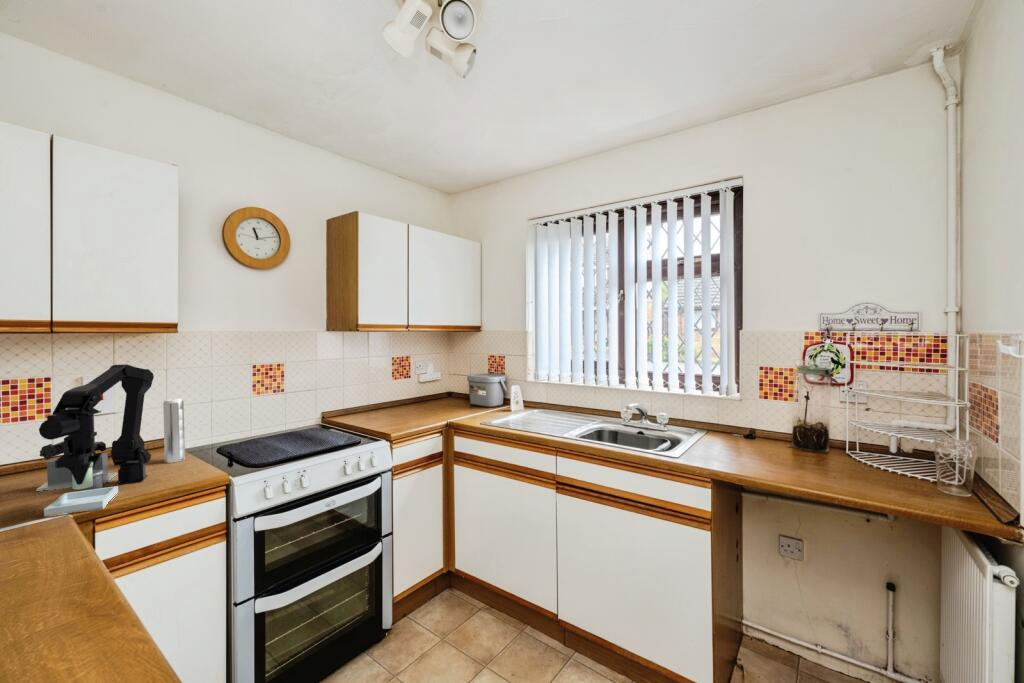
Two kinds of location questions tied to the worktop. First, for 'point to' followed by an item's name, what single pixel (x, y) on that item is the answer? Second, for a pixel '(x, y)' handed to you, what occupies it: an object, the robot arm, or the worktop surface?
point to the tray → (82, 501)
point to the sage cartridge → (87, 482)
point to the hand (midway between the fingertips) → (83, 481)
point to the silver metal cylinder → (174, 430)
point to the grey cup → (96, 480)
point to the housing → (63, 476)
